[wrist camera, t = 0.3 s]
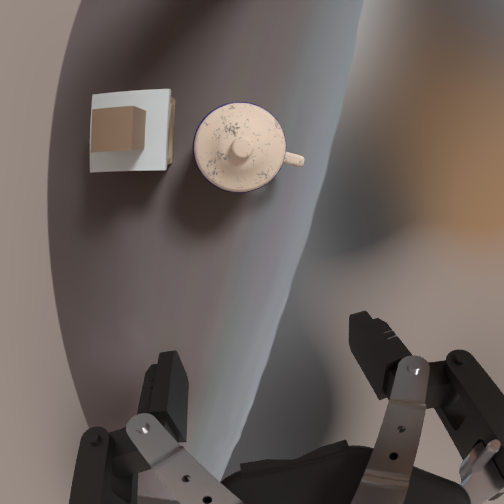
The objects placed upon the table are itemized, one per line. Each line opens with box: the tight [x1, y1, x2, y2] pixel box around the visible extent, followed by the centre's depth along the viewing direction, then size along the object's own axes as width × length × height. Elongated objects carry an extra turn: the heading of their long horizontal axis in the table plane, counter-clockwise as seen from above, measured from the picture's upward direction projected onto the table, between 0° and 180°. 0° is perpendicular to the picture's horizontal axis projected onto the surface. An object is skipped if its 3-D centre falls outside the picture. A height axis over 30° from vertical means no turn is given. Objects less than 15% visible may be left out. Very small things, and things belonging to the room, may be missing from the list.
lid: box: [90, 89, 171, 172], centre depth 26 cm, size 9×9×7 cm
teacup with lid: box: [193, 102, 304, 193], centre depth 31 cm, size 12×9×12 cm
